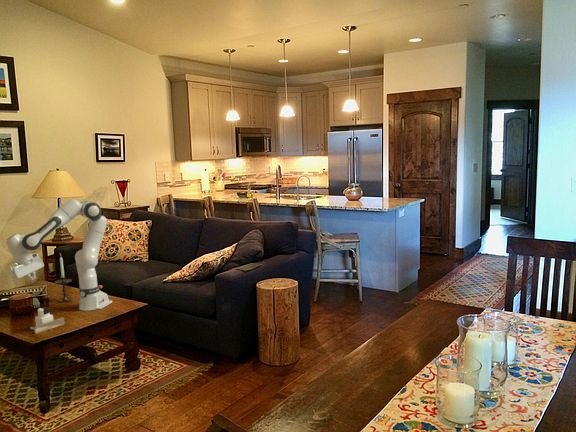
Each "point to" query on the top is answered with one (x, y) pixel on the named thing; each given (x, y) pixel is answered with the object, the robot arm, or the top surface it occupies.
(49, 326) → the beige flat block
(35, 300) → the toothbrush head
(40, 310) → the medicine bottle
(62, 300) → the candlestick
